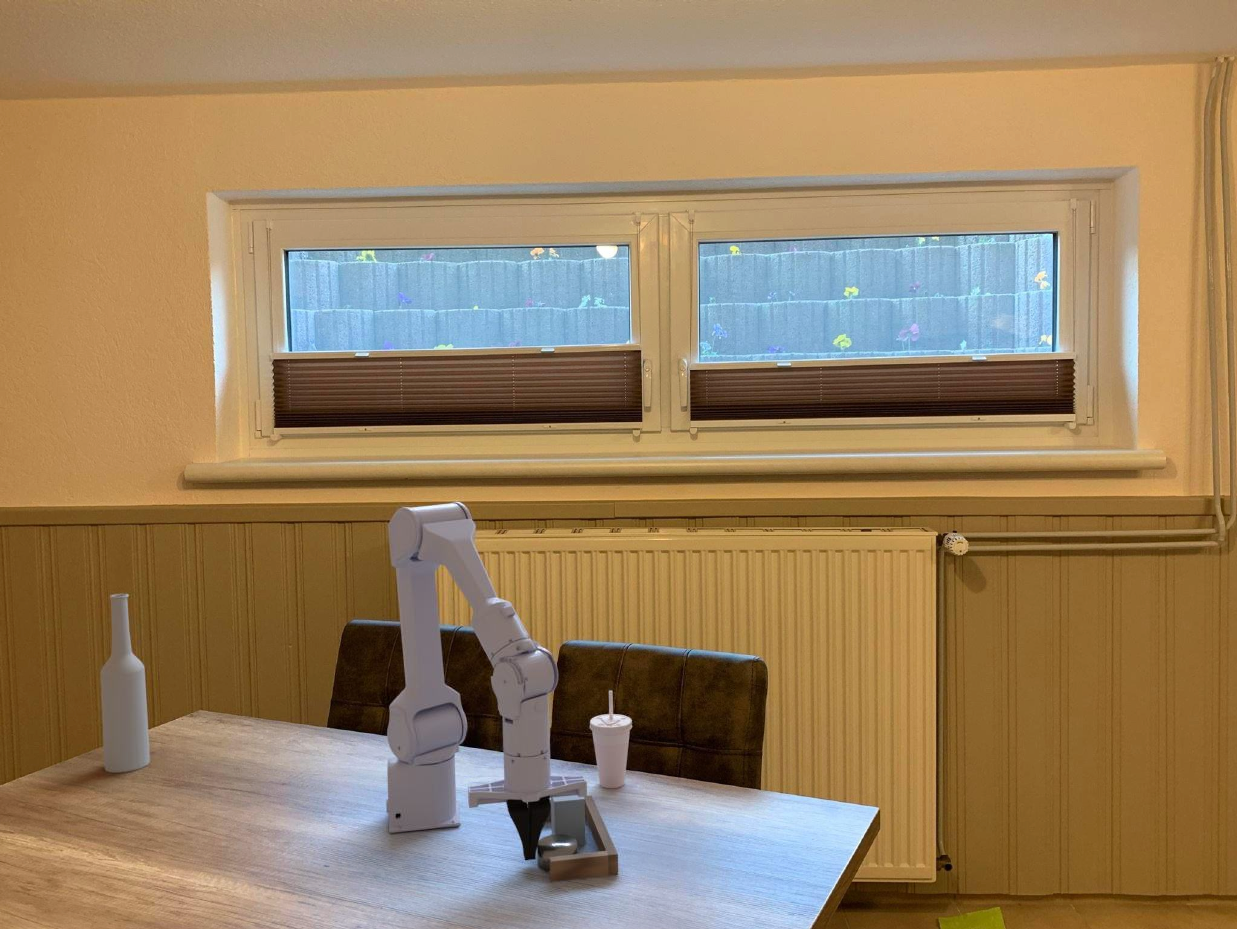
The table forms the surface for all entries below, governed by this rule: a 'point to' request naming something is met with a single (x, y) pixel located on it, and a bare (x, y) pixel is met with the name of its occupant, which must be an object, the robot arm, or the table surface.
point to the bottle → (123, 699)
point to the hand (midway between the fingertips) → (529, 856)
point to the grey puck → (554, 848)
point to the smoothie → (611, 746)
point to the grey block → (569, 817)
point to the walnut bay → (587, 862)
